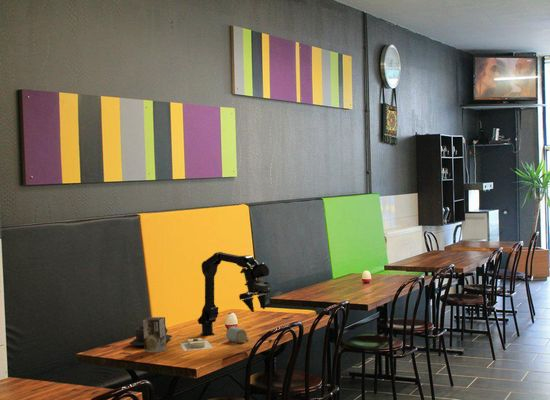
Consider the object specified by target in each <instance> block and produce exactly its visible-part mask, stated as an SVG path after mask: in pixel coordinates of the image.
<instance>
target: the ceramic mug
mask: <svg viewBox="0 0 550 400" xmlns="http://www.w3.org/2000/svg"><path fill="white" fill-rule="evenodd" d="M226 339H227V340H228V342H232V343H236V344H243V343H244V342H245V341H249V340H250V337H249V336H248V335H247V331H246V330H244V329H243V328H241V327H237V326H234V325H233V326H229V328H228V330H226Z"/></svg>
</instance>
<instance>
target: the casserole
mask: <svg viewBox="0 0 550 400" xmlns="http://www.w3.org/2000/svg"><path fill="white" fill-rule="evenodd" d="M165 327H166V342H168V341H169V340H170V339H171V338H173V336H172V334H167V333H168V331H169V330H168V328H167V326H166V325H165ZM133 334H135V338H134V339H133V340H132V341H130V342H129V344H130V346H131V345H132V346H138V347H139V346H141V347H142V346H144V328H143V325H140V326H138V327H137V326H136V328H135V330H134V332H133Z"/></svg>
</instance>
